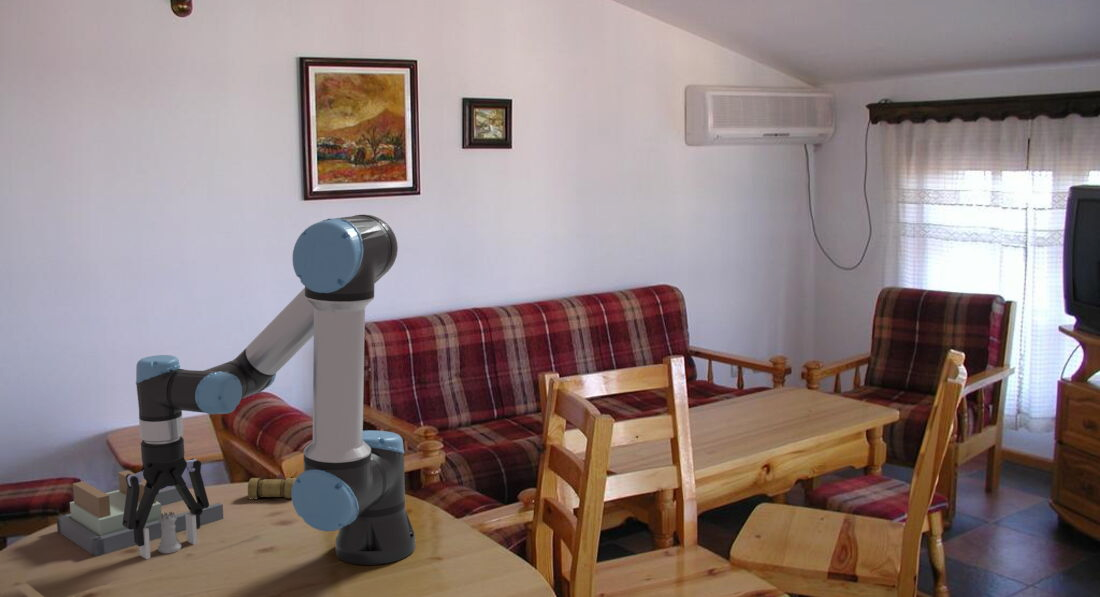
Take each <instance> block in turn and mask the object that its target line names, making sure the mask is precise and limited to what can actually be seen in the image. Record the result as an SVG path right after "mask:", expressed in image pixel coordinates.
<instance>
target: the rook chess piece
mask: <svg viewBox="0 0 1100 597" xmlns="http://www.w3.org/2000/svg"><path fill="white" fill-rule="evenodd" d="M175 515H176V514H175V512H172V511H169V512H167V511H166V512H164V513H162V514H161V515H160V519H159V522H160V523H161V525H162V526H161V527H160V528H161V529H162V537H160V538H161V539H160V542H159V545H158V546H157V551H158V552H159V553H161V554H173V553H175V552H178V551H180V550H181V548H182V543H181V542H180V539H178V536H177V533H176V531H175V527H176V525H175V521H176V519H177V517H176V516H175Z"/></svg>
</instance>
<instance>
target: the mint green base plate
mask: <svg viewBox="0 0 1100 597" xmlns="http://www.w3.org/2000/svg"><path fill="white" fill-rule="evenodd" d="M117 474H118V475H117V477H118V488H119V489H116V490H113V491H109V492H103V491H102V490H100V489H98V488H97V487H95V486H93V485H91V484H89V483H87V482H85V481H84V480H82V481H78V482H77V481H76V482H74V483H72V491H73V501H70V502H69V512H70V513H71V519H72V520H74V521H75V522H77V523H79V524H80V525H82V526H83V527H85V528H87V529H88V530H90V531H91V532H93V533H95V534H96V535H98V536H103V535H107V534H110V533H114V532H117V531H121V530H124V529H128V528H126V527H125V526H123V524H122V523H123V516H124V508H125V501H126V494H127V487H128V486H127V482H126V475H127V474H131V475H133V474H135V473H134V472H133V471H130V470H128V469H126V470H123V471H118V472H117ZM146 482H147V481H146V480H145V479H144V478H143V479H142V480H141V485H139V487H140V490H139V498H138V506H137V510H138V507H139V504H140V502H141V499H142V496H143V493H144V487H145V484H146ZM152 488H153V487H152ZM161 514H163V513H162V506H161V503H159V502H157V501H156V497H155V500H154V502H153V505H152V508H151V511H150V513H149V516H148V519H147V521H146V523H149V522H152V521H156V520H159V519H160V515H161Z"/></svg>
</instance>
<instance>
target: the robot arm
mask: <svg viewBox="0 0 1100 597" xmlns="http://www.w3.org/2000/svg"><path fill="white" fill-rule="evenodd" d="M398 248H399V246H398V240H397V237H396V234H395V233H394V230H393V229H392V228H391V226H390V225H389V224H388V223H387V222H386V221H385V220H382V218H379V217H377V216H375V215H371V214H356V215H351V216H344V217H336V218H335V217H333V218H330V217H329V218H326V219H323V220H321V221H318V222H315V223H313V224H311V225H309V226H308V227H307V228H305V229H304V230H303V231H302V232H301V233H300V235H299V236H298V238H297V239H296V242H295V243H294V246H293V250H292V266H293V271H294V274H295V275H296V277H297V278H299V280H300V281H299V282H300V283H301V284H302V285H303V286H304V288H303V289H301V291H300V292H299V293H298V294H297V295H296V296H295V297H294V298H293V299H292V300H291V301H290V302H289V303H288V304H287V305H286V306H285V307H284V308H283V310H281V311H280V312H279V313H278V314H277V315H276V316H275V317H274V319H273V320H271V321H270V323H269V324H268V325H266V327H264V329H263V330H261V332H260V333H258V335H257V336H256V337H255V338H254V339H253V340H252V341H251V342H250V343H249V344H248V345H247V346H246V348H244V349H243V351H241V353H239V354H238V355H237V356H236V357H235V358H233V360H229V361H227V362H224V363H222V364H218V365H215V366H213V367H210V368H207V369H204V370H192V369H182V368H181V365H180V361H179V358H178V357H176V356H174V355H172V354H171V355H170V354H169V355H168V354H158V355H150V356H147V357H143V358H140V360H138V361H137V363H136V375H135V376H136V379H135V380H136V381H135V384H136V395H137V401H138V402H137V403H138V404H137V405H138V420H139V437H140V439H141V440H142V441H141V443H140V452H141V462H142V467H141V469H140V471H139V472H136V473H134V474H133V475H131V474H127V475H126V482H127V486H128V487H127V494H126V501H125V508H124V516H123V523H122V524H123V526H125V527H126V528H128V529H130V530H132V529H134V541H135V544H136V545H135V546H137V547H139V556H140V557H142V558H144V559H145V560H149V559H151V545H150V541H151V540H150V541H149V529H148V528H146V527H145V524H146V521H147V519H148V516H149V513H150V511H151V508H152V505H153V502H154V500H155V497H156V495H157V494H158V493H159V490H161V489H165V488H168V487H173V486H175V487H176V489H177V491H178V492H179V494H180V496H181V497H182V499H183V500H182V501H183V502H184V504H185V505H186V508H187V509H188V511H190V512H188V511H185V512H186V513H185V517H186V530H185V531H186V541H187V543H189V544H192V545H197V544H198V532H197V531H198V529H200V528H201V526H200V515H201V514H202V512H203V509H204V508H208V507H209V505H210V503H209V499H208V496H207V495H208V494H207V491H206V489H205V488H206V487H205V484H204V481H203V477H202V471H201V470H202V462H201V461H200V460H198V459H196V458H194V457H193V458H190V459H189V460H188V459H187V460H186V459H185V439H184V437H182V436H183V435H184V423H183V422H184V421H183V411H184V412H192V413H193V412H195V413H204V414H207V415H208V414H210V415H220V414H221V415H228V414H230V413H232V412H234V411H235V410H236V408H237V407H238V406H239V405H240V403H241V400H242V399H245V398H247V397H250V396H253V395H255V394H259V393H261V392H263V391H264V390H265V389H267V388H269V387H270V386H271V385H272V384H273V383H274V382H275V379H276V375H277V373H278V372H279V371H280V370H281V369H282V368H283V367H284V366H285V365H286V364H287V363H288V362H289V361H290V360H291V359H292V358H293V357H294V356H295V355H296V354H297V353H298V352H300V350H301V349H302V348H304V346H305V345H307V343H308V342H310V340H311V339H313V363H312V364H313V368H312V369H313V370H312V371H313V372H312V373H313V376H312V378H313V380H312V382H313V383H312V384H313V385H312V386H313V388H312V390H313V391H312V392H313V393H312V440H311V441H310V443H308V444H307V446H305V448H304V449H303V472H301V473H299V475H298V476H297V477H296V480H295V482H294V484H293V486H292V490H291V498H292V499H291V502H292V506H293V508H294V511H295V512H296V514H297V516H298V517H300V518H302V520H303V521H304V523H306V525H308V526H310V527H311V528H313V529H315V530H317V531H322V532H335V531H338V533H337V536H336V538H335V544H334V545H335V555H336V557H337V558H338V559H340V560H342V561H344V562H346V563H350V564H354V565H360V566H362V565H363V566H365V565H366V566H372V565H384V564H389V563H393V562H396V561H397V562H398V561H401V560H403V559H405V558H407V557H408V556H410V555H411V554H412V553H414V551H415V550H416V534H415V531H414V528H413V526H412V522H411V520H410V517H409V515H408V512H407V508H406V488H405V487H406V484H405V454H406V453H405V450H404V441H403V438H402V436H400V434H399V433H395V432H393V431H384V430H369V429H368V430H363V429H364V427H363V426H364V386H365V385H364V383H365V382H364V378H365V372H364V371H365V334H366V333H365V332H366V331H365V329H366V327H365V326H366V324H365V322H366V307H367V306H368V305H369V304H370V303H372V301H373V300H374V298H375V284H376V283H377V282H378V281H379V280H381V279H382V277H384V276H385V275H386V274H387V273H388V272H389V270H391V268H392V267H393V266H394V264H395V262H396V259H397V257H398V250H399V249H398ZM186 470H187V472H188V474H189V479H190V482H191V487H192V489H193V493H194V496H193V494H192V493H191V490H189V488H188V485H187V483H186V481H185V479H184V478H183V476H182V475H183V474H184V472H185V471H186ZM143 478H144V479H145V480H146V481H147V482H146V484H145V487H144V493H143V496H142V499H141V502H140V504H139V507H138V510H137V506H138V498H139V490H140V487H139V485H141V480H142V479H143ZM152 487H153V488H152ZM194 497H195V498H194Z"/></svg>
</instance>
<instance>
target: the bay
mask: <svg viewBox="0 0 1100 597" xmlns="http://www.w3.org/2000/svg"><path fill="white" fill-rule="evenodd" d="M156 501H157V502H159V503H161V507H163V506H167V505H170V504H171V505H172V504H175V503H177V502H178V503H179V502H181V501H183V499H182V497H181V496H180V494H179V492H178V491H177V489H176V487H175V486H168V487H165V488H163V489H160V490H159V493H158V494H157V495H156ZM186 512H190V510H188V511H184V512H181V513H178V514H175V516H176V517H177V519H176V521H175V525H176V527H175V531H176V534H177V533H180V532H183V531H186V517H185V513H186ZM224 519H225V518H224V504H223V503H221V502H216V503H212V504H209V507H208V508H204V509H203V512H202V514H201V515H200V527H201V526H204V525H206V524H211V523H215V522H216V521H221V520H224ZM161 526H162V525H161V523H160V522H159V520H156V521H152V522H149V523H146V524H145V527H146V528H148V529H149V541H154V540H156V539H159V538H161V537H162V529H161V528H160V527H161ZM56 529H57V532H58V533H59V534H60V535H62V536H63V537H65V538H66V539H68V540H70V541H71V542H73V543H74V544H75V545H77V546H79V547H80V548H82V549H83V550H85V551H86V552H88V553H89V554H91V555H92V556H94V557H96V558H97V557H100V556H103V555H107V554H109V553H113V552H116V551H119V550H120V551H121V550H123V549H127V548H130V547H133V546H137V545H136V544H135V541H134V529H132V530H130V529H124V530H121V531H117V532H114V533H110V534H107V535H103V536H98V535H96V534H95V533H93V532H91V531H90V530H88V529H87V528H85V527H83V526H82V525H80V524H79V523H77V522H75V521H74V520H72V519H71V512H70V513H67V514H63V515H60V516H56Z"/></svg>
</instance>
